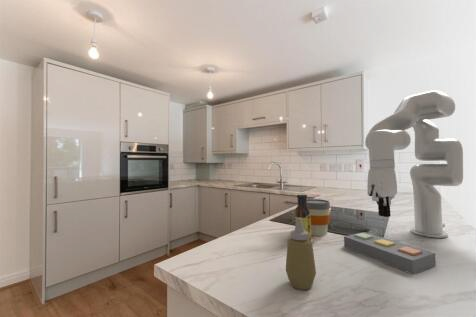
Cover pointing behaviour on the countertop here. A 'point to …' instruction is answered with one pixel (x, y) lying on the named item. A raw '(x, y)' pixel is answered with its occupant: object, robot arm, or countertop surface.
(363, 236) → the sage key
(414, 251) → the terracotta key
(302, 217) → the sauce bottle
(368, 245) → the console
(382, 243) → the ochre key
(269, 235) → the countertop surface
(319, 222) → the reusable coffee cup
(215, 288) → the countertop surface
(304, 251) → the squeeze bottle
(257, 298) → the countertop surface
